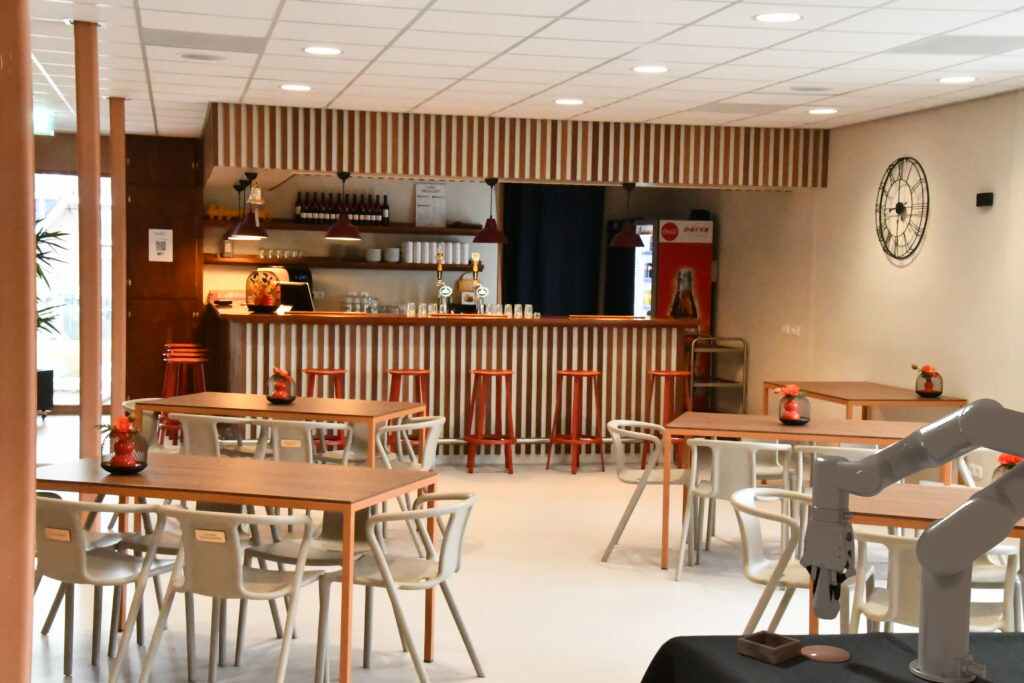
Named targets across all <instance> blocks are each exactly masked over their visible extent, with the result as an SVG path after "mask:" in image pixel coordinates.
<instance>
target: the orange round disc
mask: <svg viewBox="0 0 1024 683" xmlns="http://www.w3.org/2000/svg"><path fill="white" fill-rule="evenodd" d="M801 653H802V654H801V655H802V656H803V657H805V658H807V659H809V660H813V661H817V662H821V663H822V662H824V663H842V662H846V661H848V660H850V658H851V654H850V652H849V651H847V650H845V649H843V648H841V647H836V646H831V645H821V644H819V645H818V644H816V645H815V644H813V645H807V646H804V647H801Z"/></svg>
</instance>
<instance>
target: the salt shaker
mask: <svg viewBox="0 0 1024 683" xmlns="http://www.w3.org/2000/svg"><path fill="white" fill-rule="evenodd" d="M817 582H818V583H817V587H816V591H815V595H814V599H813V598H812V602H811V607H812V609H813V612H814V614H815V618H818V619H820V620H826V621H828V620H829V621H832V620H834V619H836V618H837V617H838V615H839V612H840V610H841V602H840V599H839V600H835V599H834V590H833V596H832V601H830V594H829V585H832V581H831V570H829V569H827V568H826V567H825V564H823V563H820V573H819V577H818V581H817Z"/></svg>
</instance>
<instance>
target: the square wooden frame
mask: <svg viewBox="0 0 1024 683" xmlns="http://www.w3.org/2000/svg"><path fill="white" fill-rule="evenodd" d="M764 644H766V645H770V646H773V647H775V648H773V647H769V646H766V645H764ZM801 649H802V640H799V639H796V638H793V637H789V636H786V635H783V634H779V633H776V632H772V631H768V630H764V629H762V630H759V631H757V632H753V633H749V634H747V635H745V636H741V637H738V638H736V653H737V654H740V653H741V654H740V655H743V654H744V655H743V656H746V655H748V656H747V657H749V656H751V657H750V658H752V657H754V658H753V659H757V660H760V661H762V662H766V663H769V664H773V665H777V664H779V663H782V662H785V661H788V660H790V658H791V659H793V658H796V657H799V656H801V655H802V654H801ZM798 655H799V656H798ZM787 659H788V660H787Z"/></svg>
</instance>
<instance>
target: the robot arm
mask: <svg viewBox="0 0 1024 683" xmlns="http://www.w3.org/2000/svg"><path fill="white" fill-rule="evenodd" d="M979 448H986V449H988V450H991V451H995V452H998V453H999V452H1000V453H1003V454H1007V455H1010V456H1015V457H1019V458H1022V460H1021V461H1019V462H1018V463H1017V464H1015V465H1014V466H1013V467H1012V468H1010V469H1009V470H1007V472H1006V473H1004V474H1002V475H1001V476H1000V477H998V478H997V479H995V480H994V481H993V482H991V483H990V484H988V485H987V486H985V487H984V488H981V489H980V490H978V491H976V492H974V493H973V494H972V495H970V497H969V498H968V499H967V501H965V502H964V503H963V504H962V505H960V506H959V507H957V508H956V509H954V511H951V513H949V514H948V515H946V516H945V517H942V518H938V519H935V520H933V521H932V522H930V524H928V525H927V526H926V528H925V529H924V530H923V531H922V533H921V534H920V536H919V537H918V538H917V539H918V540H917V541H916V546H915V555H916V558H917V560H918V563H919V564H920V566H921V574H920V575H921V578H920V595H919V614H918V615H919V617H918V618H919V620H918V644H917V645H918V646H917V659H914V660H911V662H909V671H910V672H911V673H912V674H913V675H915V676H917V677H919V678H921V679H924V680H927V681H930V682H936V683H971V682H973V681H975V680H976V677H978V678H982V679H985V678H986V677H987V673H988V672H987V666H986V665H985V664H984V665H983V664H981V663H976V662H975V661H974V654H970V653H969V651H970V649H969V647H970V623H971V619H970V618H971V600H972V582H973V581H972V577H973V567H974V562H975V561H976V560H977V559H979V558H981V557H982V556H983V555H985V554H986V553H988V552H990V551H991V550H992V549H994V548H995V547H997V546H998V545H999V544H1001V543H1002V542H1003V541H1004V540H1006V539H1007V538H1008V537H1009V535H1011V533H1012V531H1013V529H1014V528H1015V526H1016V524H1017V523H1018V522H1019V521H1021V520H1022V519H1023V518H1024V412H1022V411H1020V410H1019V411H1018V410H1014V409H1011V408H1010V409H1009V408H1007V407H1004V406H1003V405H1002V403H1000V402H998V401H997V400H995V399H993V398H992V399H991V398H989V397H988V398H979V399H976V400H974V401H971V402H970V403H967V404H966V405H963V406H962V407H959V408H957V409H956V410H953V411H952V412H950V413H948V414H946V415H944V416H941V417H940V418H938V419H935V420H933V421H932V422H929V423H927V424H925V425H924V426H921V427H920V428H917V429H916V430H914V431H912V432H911V433H910V434H909V435H907V436H905V437H903V438H901V439H900V440H897V441H895V442H894V443H892V444H890V445H889V444H888V446H885V447H884V448H881V449H879V450H878V451H875V452H873V453H872V454H869V455H867V456H864V457H863V458H861V459H859V460H855V461H851V460H849V459H848V458H847V457H845V456H840V455H839V456H838V455H828V454H827V455H826V454H824V455H819V456H816V457H815V459H814V460H813V469H812V488H811V489H812V491H811V492H812V493H811V512H810V514H811V515H810V517H809V518H808V521H807V524H806V528H805V534H804V540H803V552H802V553H803V555H802V557H800V559H799V564H800V566H802V567H803V568H804V569H806V571H807V572H808V573H807V574H809V576H810V579H811V580H812V595H813V597H812V600H813V599H814V595H815V591H816V587H817V583H818V582H817V581H818V577H819V573H820V563H823V564H825V567H826V568H827V569H829V570H831V581H832V585H829V594H830V601H832V596H833V590H834V599H835V600H840V599H841V592H842V591H841V590H842V589H841V588H842V584H844V582H845V581H847V579H849V578H852V577H855V576H856V575H858V574H857V571H856V568H855V564H856V552H855V551H856V547H855V546H856V545H855V534H854V529H853V523H852V522H849V521H850V520H851V521H852V520H853V518H854V514H853V513H851V512H850V508H849V507H850V495H853V496H856V497H862V498H872V497H875V496H877V495H879V494H881V492H882V491H883V490H884V489H886V488H888V487H891V485H893V484H895V483H897V482H899V481H901V480H903V479H906V478H908V477H910V476H912V475H915V474H917V473H920V472H921V471H924V470H927V469H934V468H938V467H941V466H943V465H946V464H948V463H949V462H952V461H954V460H956V459H958V458H960V457H962V456H965V455H966V454H968V453H970V452H973V451H974V450H977V449H979ZM845 569H846V572H844V571H845Z"/></svg>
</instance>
